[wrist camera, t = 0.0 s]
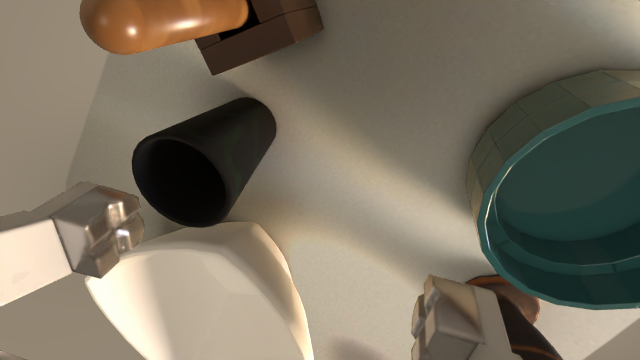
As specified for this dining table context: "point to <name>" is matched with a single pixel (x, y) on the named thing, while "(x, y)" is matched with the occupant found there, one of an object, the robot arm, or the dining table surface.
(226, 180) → the cup
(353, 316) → the dining table surface
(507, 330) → the vase
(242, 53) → the holder
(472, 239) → the dining table surface
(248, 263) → the bowl
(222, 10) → the stick
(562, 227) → the mixing bowl
